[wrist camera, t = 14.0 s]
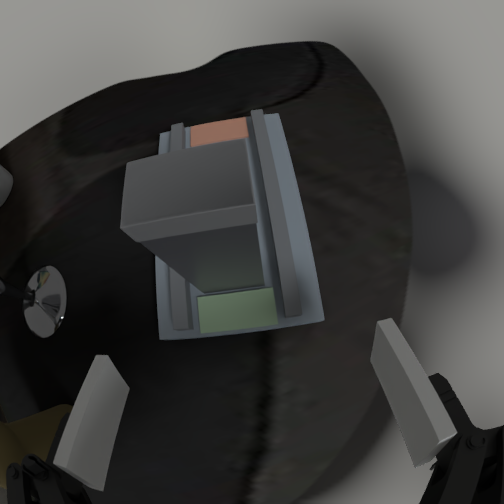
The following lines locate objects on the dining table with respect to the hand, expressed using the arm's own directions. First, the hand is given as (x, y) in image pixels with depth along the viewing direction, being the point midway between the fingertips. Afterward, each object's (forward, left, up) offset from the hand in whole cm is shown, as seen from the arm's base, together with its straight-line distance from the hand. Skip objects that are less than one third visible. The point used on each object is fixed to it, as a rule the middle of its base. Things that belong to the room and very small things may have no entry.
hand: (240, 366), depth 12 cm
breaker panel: (-8, +7, -6) cm, 13 cm away
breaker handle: (-4, +4, -5) cm, 7 cm away
